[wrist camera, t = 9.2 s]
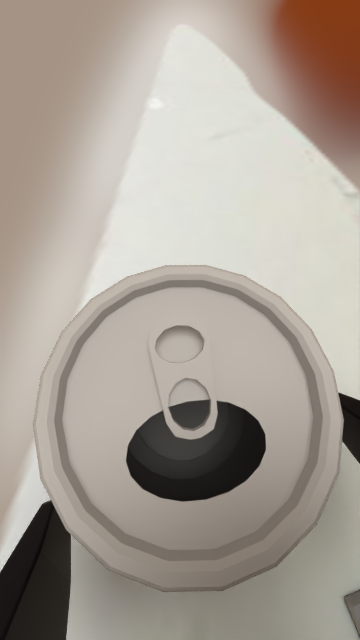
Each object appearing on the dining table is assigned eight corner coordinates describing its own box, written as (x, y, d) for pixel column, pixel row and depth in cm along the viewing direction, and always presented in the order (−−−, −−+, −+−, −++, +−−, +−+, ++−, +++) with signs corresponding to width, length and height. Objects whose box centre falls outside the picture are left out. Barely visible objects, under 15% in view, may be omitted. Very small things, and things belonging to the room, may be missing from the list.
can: (128, 487, 15) (-28, 722, 4) (116, 359, 17) (1, 259, 6) (255, 462, 15) (469, 598, 4) (226, 340, 18) (308, 216, 7)
